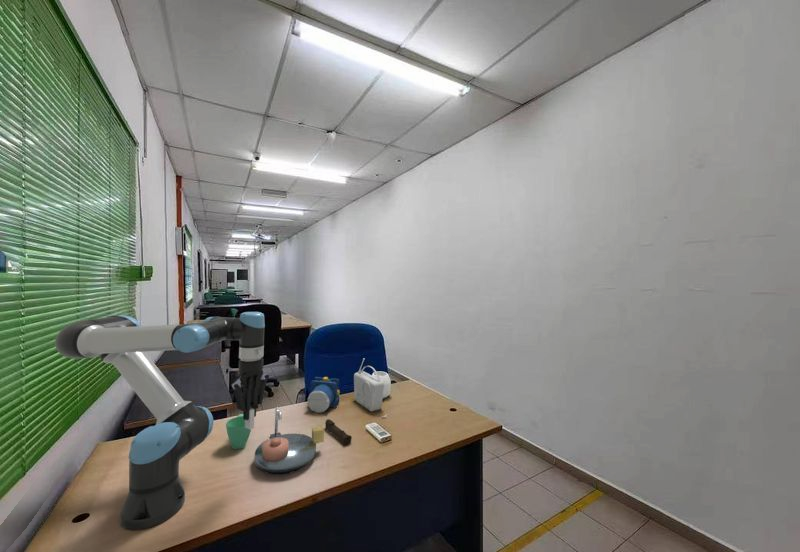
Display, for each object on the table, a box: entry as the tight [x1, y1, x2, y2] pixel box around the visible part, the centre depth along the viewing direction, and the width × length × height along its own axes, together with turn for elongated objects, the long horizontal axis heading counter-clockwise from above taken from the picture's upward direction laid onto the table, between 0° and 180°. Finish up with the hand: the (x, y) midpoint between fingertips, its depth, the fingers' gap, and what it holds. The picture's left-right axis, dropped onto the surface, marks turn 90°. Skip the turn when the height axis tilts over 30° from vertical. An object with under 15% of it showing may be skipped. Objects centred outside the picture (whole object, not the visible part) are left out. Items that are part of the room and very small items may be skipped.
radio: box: [353, 357, 384, 412], centre depth 171 cm, size 22×8×25 cm, turn 37°
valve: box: [307, 376, 341, 414], centre depth 165 cm, size 13×15×15 cm
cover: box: [262, 437, 289, 462], centre depth 115 cm, size 9×9×6 cm
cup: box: [371, 370, 392, 400], centre depth 184 cm, size 13×13×14 cm
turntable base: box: [262, 463, 308, 476], centre depth 120 cm, size 18×18×2 cm
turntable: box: [254, 425, 325, 472], centre depth 121 cm, size 24×22×7 cm
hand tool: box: [325, 419, 353, 447], centre depth 139 cm, size 19×4×5 cm, turn 39°
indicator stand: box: [269, 406, 283, 439], centre depth 132 cm, size 10×4×14 cm, turn 33°
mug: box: [225, 413, 252, 450], centre depth 130 cm, size 15×10×10 cm
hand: (249, 427), depth 106 cm, fingers closed
